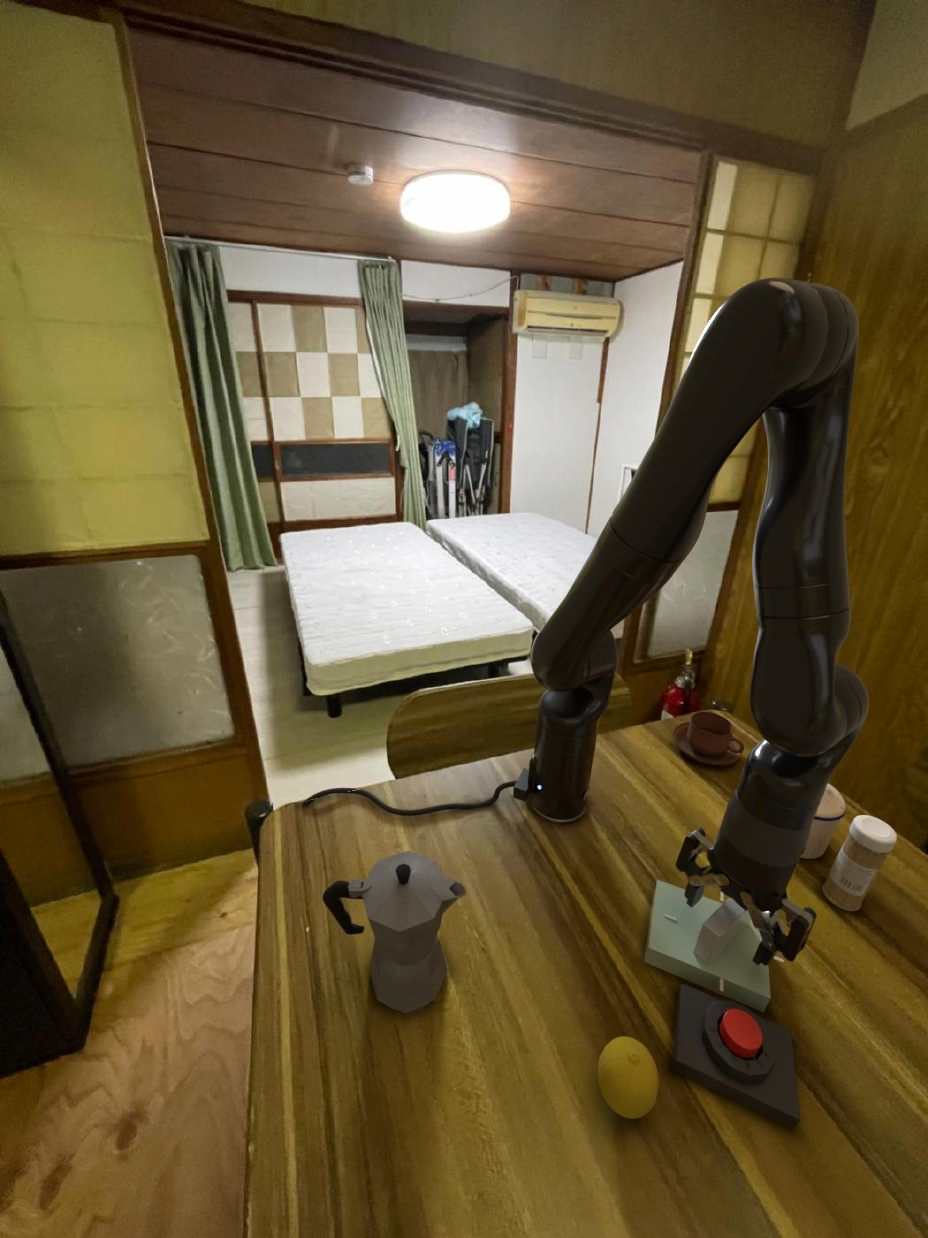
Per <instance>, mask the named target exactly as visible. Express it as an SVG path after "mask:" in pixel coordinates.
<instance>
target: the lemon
mask: <svg viewBox="0 0 928 1238" xmlns="http://www.w3.org/2000/svg"><path fill="white" fill-rule="evenodd" d="M598 1060H599V1061H598V1063H597V1064H598V1065H597V1080H598V1081H597V1082H598V1087H599V1089H600V1092H601V1094H602V1096H603V1099H604V1100H605V1101H606V1103H607V1105H608V1107H610V1108H611V1109H612V1110H613V1111H614V1112H615V1113H616V1114H618V1115H619V1116H620V1117H623V1118H626V1119H635V1120H636V1119H639V1118H640V1119H641V1118H643V1117H644V1116H645V1115H647V1114H648V1113H650V1112H651V1110H652V1108H653V1107H654V1105H655V1104H656V1101H657V1099H658V1098H657V1097H658V1095H659V1085H660V1084H659V1082H660V1081H659V1079H660V1078H659V1073H658V1068H657V1065H656V1062H655V1060H654V1058H653V1055H652V1054H651V1052H650V1050H649V1049H648V1048H647V1047H646V1046H645V1045H644V1044H643V1043H642V1042H640V1041H639V1040H638V1039H635V1038H633V1037H630V1036H625V1035H624V1036H617V1037H615V1038H613V1039H611V1040H610V1041H609V1042H608V1043H607V1044H606V1045H605V1046H604V1048H603V1050H602V1051H601V1053H600V1055H599V1059H598Z"/></svg>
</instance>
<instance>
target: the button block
mask: <svg viewBox="0 0 928 1238" xmlns="http://www.w3.org/2000/svg"><path fill="white" fill-rule="evenodd" d="M730 1009H739V1010H742V1011H744V1012H746V1013H748V1014H749V1015H750V1016H751V1017H752V1018H753V1019H754V1020H755V1021H756V1022H757V1024H758V1025H759V1027H760V1029H761V1032H762V1036H763V1041H762V1045H761V1046H760V1048H759V1050H758V1052H757V1054H756V1055H755V1056H754V1057H752V1058H742V1057H739V1056H737V1055H736V1054H734V1053H733V1052H732V1051H731V1050H729V1048H728V1047H727V1046H726V1045H725V1043H724V1042H723V1040H722V1037H721V1034H720V1024H721V1021H722V1019H723V1017H724V1014H725V1013H726V1012H727V1011H728V1010H730ZM674 1028H675V1029H674V1037H673V1039H674V1040H673V1053H672V1063H671V1071H672V1072H674V1073H676V1074H678V1075H680V1076H682V1077H684V1078H686V1079H688V1080H690V1081H692V1082H694V1083H696V1084H698V1085H700V1086H703V1087H704V1088H706V1089H708V1090H711V1091H713V1093H717V1094H718V1095H721V1096H722V1097H725V1098H727V1099H729V1100H730V1101H733V1102H735V1103H737V1104H739V1105H741V1106H742V1107H745V1108H747V1109H750V1110H751V1111H753V1112H755V1113H757V1114H759V1115H761V1116H763V1117H766V1118H767V1119H770V1120H772V1121H774V1122H775V1123H777V1124H780V1125H782V1126H783V1127H786V1128H788V1129H790V1130H792V1131H794V1130H795V1129H796V1128H797V1126H798V1125H799V1123H800V1121H801V1112H800V1101H799V1092H798V1081H797V1073H796V1063H795V1053H794V1043H793V1033H792V1030H791V1029H789V1028H787V1027H784V1026H782V1025H781V1024H778V1023H775V1022H773V1021H770V1020H768V1019H766V1018H763V1017H761V1016H759V1015H756V1013H754V1012H753V1011H752V1010H751V1009H750V1007H748V1006H746V1005H744V1004H741V1003H739V1002H737V1001H734V1000H732V999H725V1000H722V999H719V998H717V997H714V996H713V995H710V994H707V993H706V992H703V991H700V990H698V989H696V988H694V987H691V986H689V985H686V984H684V983H681V984H680V987H679V989H678V993H677V998H676V1013H675V1026H674Z"/></svg>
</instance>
